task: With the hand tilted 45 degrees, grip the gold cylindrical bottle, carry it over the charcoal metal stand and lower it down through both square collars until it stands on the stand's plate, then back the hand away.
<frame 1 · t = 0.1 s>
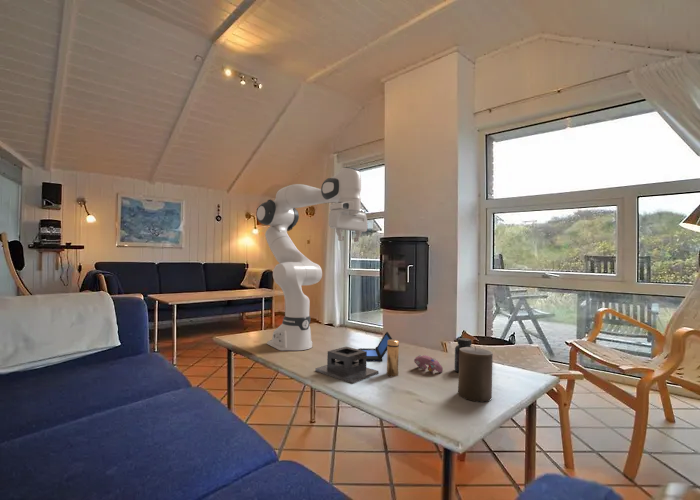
hand: (348, 241, 139), 48 cm above the table, tool pointing down, fingers open, 8 cm apart
handheld game console: (374, 357, 146), on the table
pillar candle: (475, 396, 105), on the table
supplement bottle: (463, 372, 128), on the table
collar stand: (346, 372, 124), on the table
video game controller: (428, 371, 128), on the table
gold cylindrical bottle: (392, 374, 123), on the table
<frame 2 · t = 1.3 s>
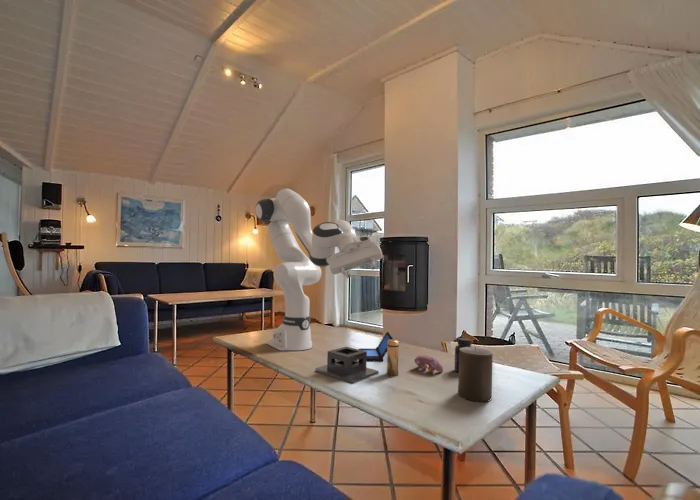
hand: (361, 272, 123), 36 cm above the table, tool tilted 50°, fingers open, 8 cm apart
nothing on the table moved.
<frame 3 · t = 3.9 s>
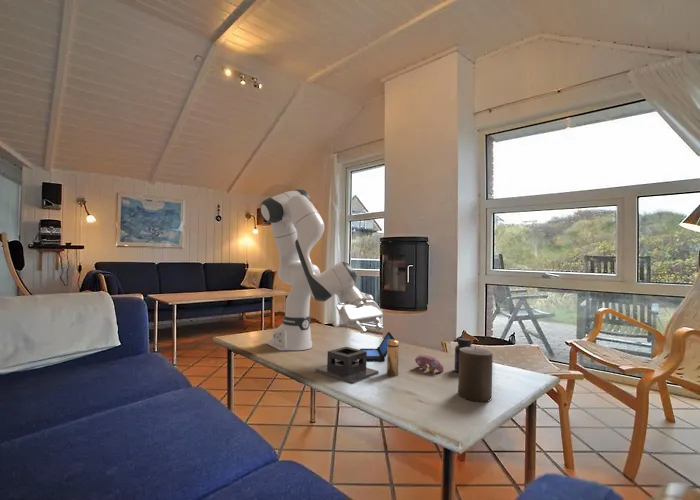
hand: (372, 330, 128), 14 cm above the table, tool tilted 45°, fingers open, 8 cm apart
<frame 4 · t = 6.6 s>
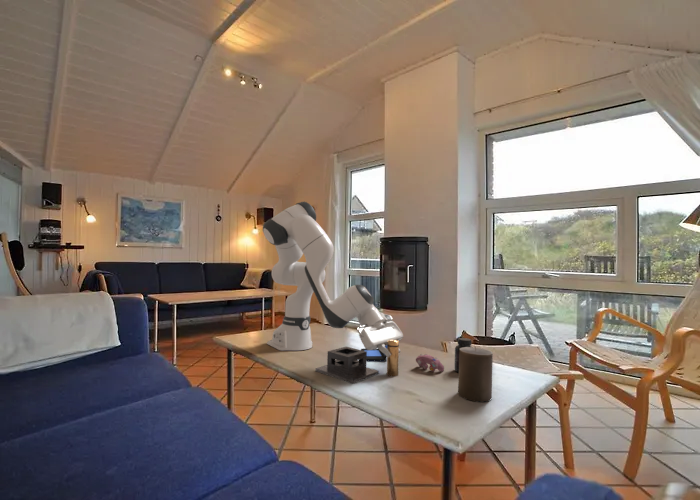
hand: (394, 354, 123), 7 cm above the table, tool tilted 45°, fingers closed on gold cylindrical bottle, 4 cm apart
gold cylindrical bottle: (392, 374, 123), on the table, touching gripper
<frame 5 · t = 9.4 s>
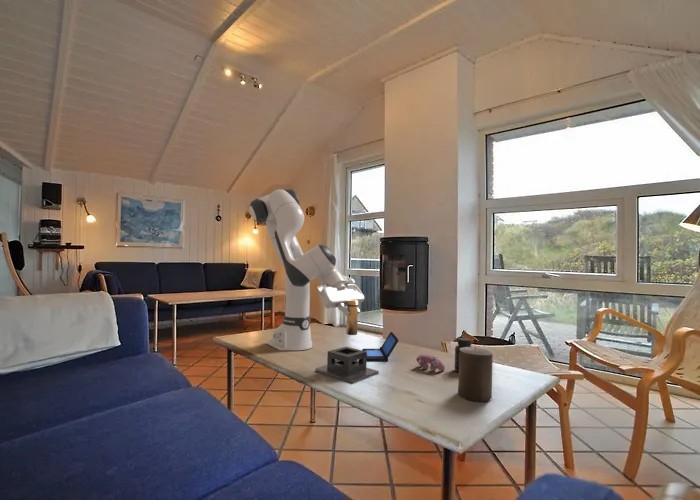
hand: (353, 313, 125), 21 cm above the table, tool tilted 45°, fingers closed on gold cylindrical bottle, 4 cm apart
gold cylindrical bottle: (351, 333, 125), point 14 cm above the table, touching gripper
when the fingers open (10 cm above the table, at t = 12.2 s): gold cylindrical bottle drops 1 cm, resting on collar stand.
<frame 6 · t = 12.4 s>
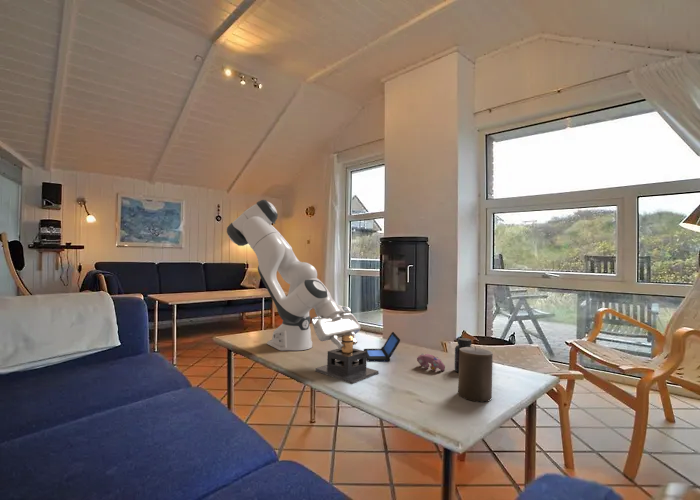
hand: (348, 345, 124), 10 cm above the table, tool tilted 45°, fingers open, 6 cm apart
gold cylindrical bottle: (347, 369, 124), point 1 cm above the table, touching collar stand
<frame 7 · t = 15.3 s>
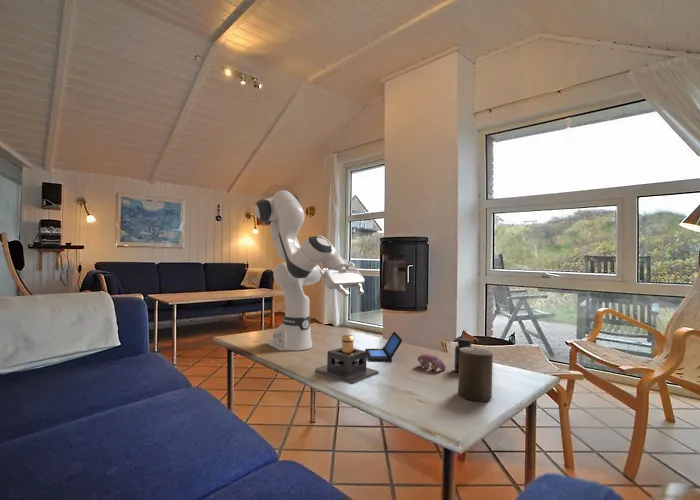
hand: (354, 294, 132), 27 cm above the table, tool tilted 45°, fingers open, 8 cm apart
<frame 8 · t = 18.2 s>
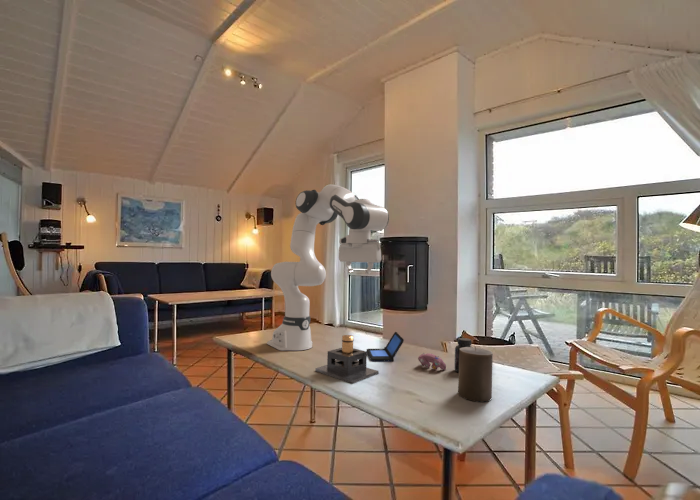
hand: (359, 273, 140), 35 cm above the table, tool pointing down, fingers open, 8 cm apart
at the end: gold cylindrical bottle 0.1 cm off-centre on the collar stand, point 1.0 cm above the collar stand's base; gold cylindrical bottle tilted 0°; the gripper is holding nothing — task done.
